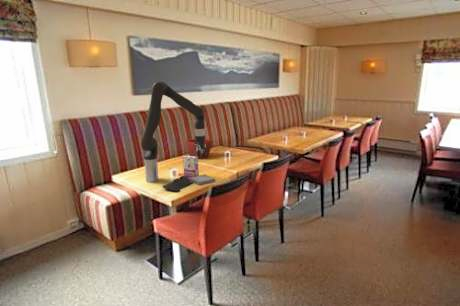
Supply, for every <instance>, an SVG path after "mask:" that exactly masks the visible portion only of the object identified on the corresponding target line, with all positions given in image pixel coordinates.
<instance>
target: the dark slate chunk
mask: <svg viewBox="0 0 460 306" xmlns="http://www.w3.org/2000/svg"><path fill="white" fill-rule="evenodd" d="M193 184H194V183H193V182H191V181H190V180H189V177H185V176H184V175H181V176H180V177H177V178H175V179H173V180H172V181H171V182H168V183H166V184H164V185H162V188H163V189H166V190H169V191H171V192H179V191H182V189H185V188H187V187H189V186H191V185H193Z"/></svg>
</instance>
